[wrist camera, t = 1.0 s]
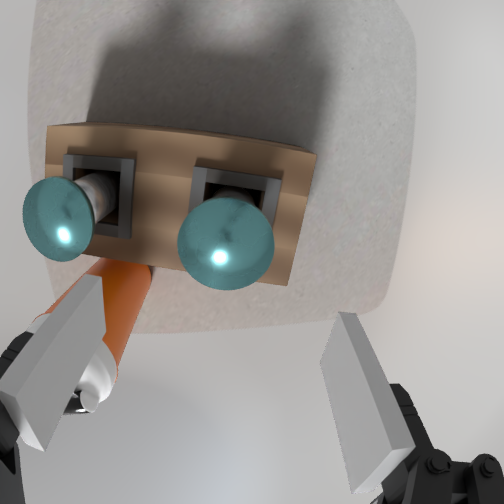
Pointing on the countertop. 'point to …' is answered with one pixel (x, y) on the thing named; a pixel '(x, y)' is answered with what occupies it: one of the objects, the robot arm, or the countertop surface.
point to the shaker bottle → (107, 328)
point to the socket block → (181, 185)
